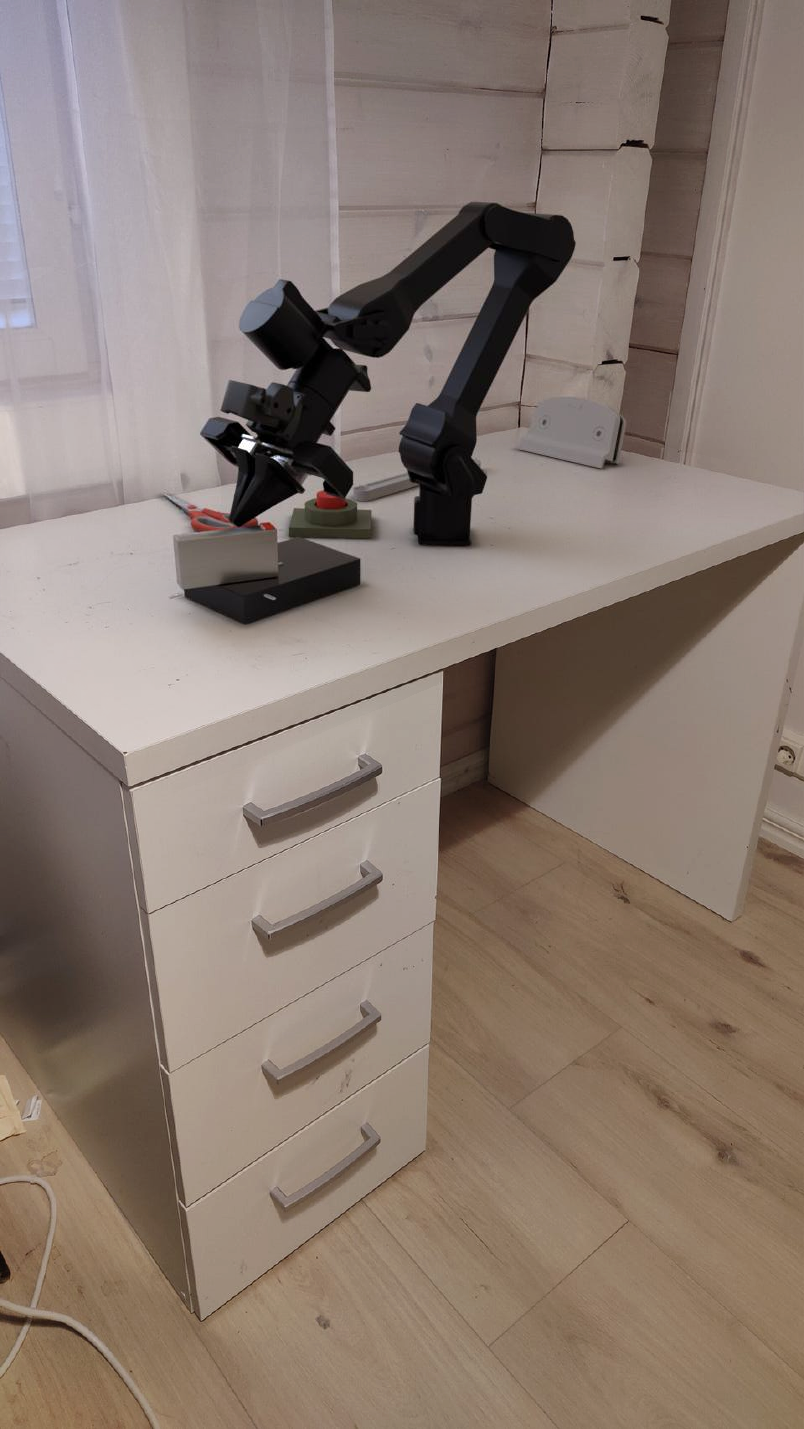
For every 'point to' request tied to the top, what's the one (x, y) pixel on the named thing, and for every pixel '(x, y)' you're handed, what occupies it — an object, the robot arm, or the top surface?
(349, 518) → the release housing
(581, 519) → the top surface
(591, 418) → the grey mounting bracket
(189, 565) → the silver metal slab
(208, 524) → the scissors
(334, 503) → the release button
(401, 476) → the adjustable wrench
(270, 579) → the black flat block
